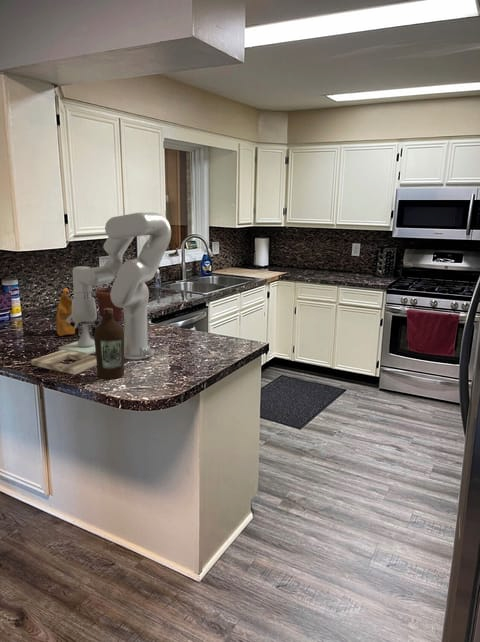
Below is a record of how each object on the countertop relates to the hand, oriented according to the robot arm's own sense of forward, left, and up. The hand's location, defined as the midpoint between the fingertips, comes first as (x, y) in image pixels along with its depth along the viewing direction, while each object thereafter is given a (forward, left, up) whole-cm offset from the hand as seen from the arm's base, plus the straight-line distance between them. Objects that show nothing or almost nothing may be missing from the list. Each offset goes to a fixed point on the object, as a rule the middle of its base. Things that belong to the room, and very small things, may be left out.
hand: (85, 335), depth 201 cm
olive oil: (-33, +22, -6) cm, 40 cm away
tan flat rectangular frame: (-10, +20, -5) cm, 23 cm away
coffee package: (+25, -14, -6) cm, 29 cm away
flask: (0, 0, -5) cm, 5 cm away
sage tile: (0, 0, -5) cm, 5 cm away
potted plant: (+25, -47, -6) cm, 54 cm away
